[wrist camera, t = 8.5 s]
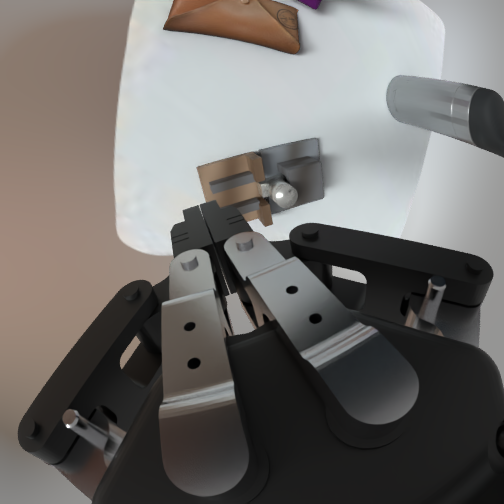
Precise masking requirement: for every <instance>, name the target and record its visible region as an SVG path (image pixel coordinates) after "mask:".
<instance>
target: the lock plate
mask: <svg viewBox="0 0 504 504" xmlns="http://www.w3.org/2000/svg"><path fill="white" fill-rule="evenodd" d="M259 155H260V156H258V155H256V154H255V153H253V152H249V153H245V154H241V155H237V156H233V157H230V158H226V159H222V160H219V161H215V162H212V163H208V164H205V165H202V166H198V167H197V171H198V174H199V178H200V182H201V185H202V189H203V193H204V196H205V200H206V202H209V201H212V200H216V201H217V203H218V205H219V207H220V209H223V208H226V207H229V206H231V207H234V208H236V209H238V210H239V211H240V213H241V214H242V216H243V217H244V218H245V220H246V221H247V222H248V221H251V220H254V219H259V220H260V221H261V222H262V224H263V225H264V226H265V227H266V226H269V225H272V224H273V222H272V216H271V214H274V213H277V212H280V211H284V210H287V209H290V208H293V207H297V206H300V205H303V204H307V203H310V202H313V201H317V200H320V199H323V198H324V190H323V178H322V166H321V162H320V158H319V148H318V139H316V138H311V139H306V140H301V141H296V142H291V143H287V144H282V145H278V146H273V147H269V148H265V149H261V150H259ZM280 174H283V175H285V176H286V178H287V183H288V184H289V185H291V186H292V187H294V188H295V189H296V191H297V193H298V198H297V201H296V202H295V204H294V205H293V206H291V207H289V208H282V207H280V206H279V205H278V204H277V203H276V202H274V201H273V200H272V199H271V198H270V197H269V196H268V197H267V200H268V202H267V201H266V200H265V199H264V198H263V197H262V196H261V195H260V194H259V192H258V187H257V182H261V181H264V180H265V178H269V177H273V176H276V175H280Z"/></svg>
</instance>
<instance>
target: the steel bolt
mask: <svg viewBox="0 0 504 504" xmlns="http://www.w3.org/2000/svg"><path fill="white" fill-rule="evenodd" d="M257 187H258V192H259V194H260V195H261V196H262V197H263V198H264V197H268V196H269V197H270V198H271V199H272V200H273V201H274V202H276V203H277V204H278V205H279V206H280V207H282V208H289V207H291V206H293V205H294V204H295V202H296V201H297V198H298V193H297V191H296V189H295V188H294V187H292V186H291V185H289V184H288V183H287V178H286V176H285V175H283V174H280V175H276V176H273V177H269V178H265V180H264V181H261V182H257Z"/></svg>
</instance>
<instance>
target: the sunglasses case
mask: <svg viewBox="0 0 504 504" xmlns="http://www.w3.org/2000/svg"><path fill="white" fill-rule="evenodd" d="M298 11H299V10H297V9H296V8H294V7H291V6H288V5H285V4H282V3H279V2H276V1H272V0H174V1H173V4H172V7H171V10H170V13H169V16H168V19H167V21H166V23H165V25H164V28H163V30H169V31H178V32H188V33H197V34H204V35H211V36H217V37H223V38H229V39H234V40H239V41H244V42H248V43H253V44H256V45H261V46H264V47H268V48H272V49H275V50H278V51H282V52H285V53H290V54H296V53H297V52H298V51H299V49H300V43H299V35H298V21H297V12H298Z"/></svg>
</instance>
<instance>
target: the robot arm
mask: <svg viewBox="0 0 504 504" xmlns="http://www.w3.org/2000/svg"><path fill="white" fill-rule="evenodd" d="M387 104H388V108H389V110H390V112H391V114H392V116H393V117H394V118H395V119H396V120H398V121H399V122H402V123H406V124H410V125H414V126H417V127H420V128H424V129H427V130H430V131H434V132H437V133H440V134H443V135H446V136H449V137H452V138H455V139H457V140H460V141H463V142H466V143H469V144H471V145H474V146H476V147H479V148H481V149H484V150H487V151H489V152H492V153H494V154H497V155H499V156H502V157H504V101H503V99H502V97H501V96H500V95H499V94H498V93H497V92H495V91H493V90H490V89H486V88H481V87H477V86H472V85H468V84H463V83H457V82H451V81H445V80H439V79H432V78H424V77H416V76H404V75H399V76H396V77H395V78H393V79H392V81H391V82H390V84H389V86H388V89H387ZM200 208H201V211H202V214H201V211H200ZM200 208H199V206H198V205H197V206H194V207H191V208H188V209H185V210H183V214H184V219H185V221H184V222H181V223H178V224H175V225H174V226H173V228H172V230H171V240H172V248H173V255H174V259H173V261H172V262H171V264H170V269H169V271H170V272H169V273H170V274H169V276H168V277H167V278H166V279H165V280H163V281H161V282H160V283H158V284H156V285H155V286H153V287H152V285H151V284H150V282H148V281H146V280H137V281H133V282H131V283H129V284H127V285H125V286H124V287H123V288H122V289H120V291H118V293H117V294H116V295H115V296H114V298H113V299H112V300H111V301H110V302H109V303H108V304H107V306H106V307H105V308H104V309H103V310H102V312H101V313H100V314H99V315H98V317H97V318H96V319H95V320H94V321H93V322H92V324H91V325H90V326H89V328H88V329H87V330H86V331H85V332H84V334H83V335H82V336H81V338H80V339H79V340H78V341H77V343H76V344H75V345H74V347H73V348H72V349H71V350H70V352H69V353H68V354H67V356H66V357H65V358H64V360H63V361H62V362H61V364H60V365H59V366H58V368H57V369H56V370H55V372H54V373H53V374H52V376H51V377H50V379H49V380H48V381H47V383H46V384H45V386H44V387H43V388H42V390H41V391H40V393H39V394H38V396H37V397H36V398H35V400H34V401H33V403H32V404H31V406H30V407H29V409H28V411H27V412H26V413H25V415H24V416H23V418H22V420H21V422H20V424H19V428H18V440H19V443H20V445H21V447H22V448H23V449H24V450H25V451H27V452H28V453H30V454H32V455H34V456H36V457H38V458H39V459H41V460H43V461H44V462H45V463H46V464H48V465H50V466H52V467H54V468H56V469H57V470H58V471H59V472H61V473H62V474H63V475H64V476H65V477H66V478H67V479H68V480H69V481H70V482H71V483H72V484H73V485H74V486H75V487H77V488H78V489H79V490H80V491H81V492H82V493H84V494H85V495H86V496H87V497H88V498H89V499H91V500H92V504H504V388H503V384H502V379H501V376H500V372H499V370H498V368H497V366H496V364H495V363H494V361H493V360H492V358H491V357H490V356H489V355H488V354H487V353H485V352H484V351H483V350H481V349H480V348H478V347H479V332H480V307H481V305H482V303H483V300H484V298H485V296H486V293H487V291H488V288H489V286H490V284H491V281H492V279H493V270H492V268H491V266H490V265H489V264H488V262H486V261H485V260H484V259H482V258H480V257H478V256H476V255H472V254H468V253H464V252H459V251H455V250H450V249H446V248H442V247H437V246H433V245H428V244H423V243H419V242H414V241H409V240H404V239H399V238H394V237H389V236H384V235H379V234H374V233H369V232H363V231H358V230H353V229H347V228H342V227H336V226H330V225H324V224H319V223H306V224H302V225H299V226H297V227H295V228H294V229H293V230H291V232H290V234H289V238H290V240H283V241H268V240H267V239H266V238H265V237H264V236H263V235H262V234H260V233H258V232H254V231H253V230H252V229H251V227H250V226H249V224H248V223H247V221H246V220H245V218H244V217H243V216H242V214H241V213H240V211H239V210H238V209H236V208H234V207H231V206H229V207H226V208H223V209H220V207H219V205H218V203H217V201H216V200H212V201H209V202H206V203H203V204H200ZM202 215H203V216H202ZM203 218H204V219H203ZM332 265H333V266H337V267H342V268H346V269H350V270H355V271H358V272H360V273H362V274H363V275H364V276H365V278H366V280H367V284H364V283H359V282H355V281H351V280H347V279H343V278H339V277H335V276H332ZM221 269H222V270H221ZM222 272H223V273H222ZM223 275H224V276H223ZM224 277H225V280H226V282H227V285H228V287H229V290H230V292H231V294H233V293H236V292H237V293H238V295H239V299H240V302H241V305H242V308H243V310H244V311H245V313H246V315H247V316H248V318H249V320H250V322H251V324H252V325H253V327H254V329H255V330H254V331H252V332H250V333H246V334H240V335H234V331H233V327H232V323H231V319H230V315H229V312H228V309H227V301H226V298H225V296H227V295H229V291H228V288H227V285H226V283H225V280H224ZM135 336H137V338H138V339H139V340H140V342H141V343H140V344H139V346H138V347H137V349H136V350H135V351H134V353H133V354H132V356H131V357H130V359H129V360H128V361H127V363H126V364H125V366H124V367H123V369H121V367H120V358H121V356H122V354H123V352H124V351H125V350H126V348H127V346H128V345H129V344H130V343H131V341H132V340H133V338H134V337H135Z"/></svg>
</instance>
